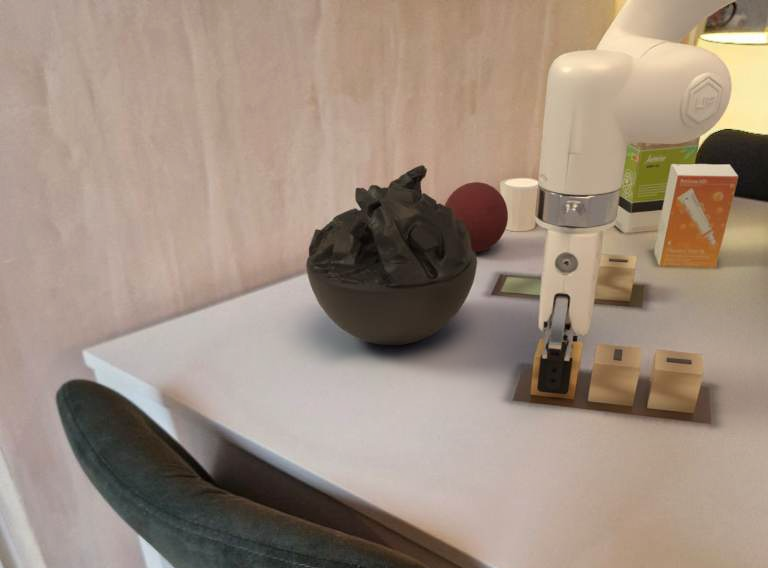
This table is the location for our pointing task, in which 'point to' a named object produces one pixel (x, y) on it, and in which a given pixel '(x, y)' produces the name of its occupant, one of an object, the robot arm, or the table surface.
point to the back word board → (609, 290)
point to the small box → (695, 214)
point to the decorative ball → (480, 213)
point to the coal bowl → (392, 264)
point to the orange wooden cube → (576, 355)
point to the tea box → (648, 182)
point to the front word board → (612, 408)
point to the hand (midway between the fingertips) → (555, 378)
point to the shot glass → (520, 202)
